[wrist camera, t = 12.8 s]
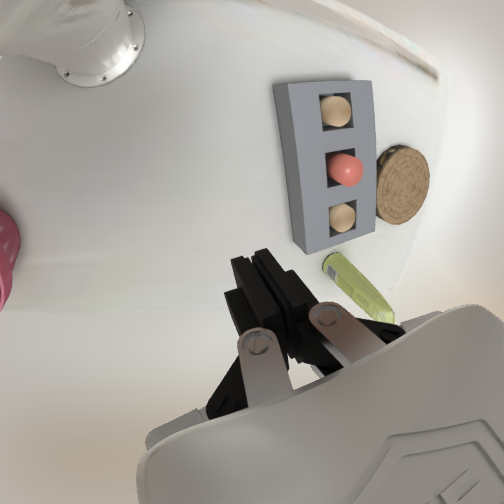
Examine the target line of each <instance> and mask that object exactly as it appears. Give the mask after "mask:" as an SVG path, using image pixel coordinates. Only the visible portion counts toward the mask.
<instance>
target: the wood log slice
mask: <svg viewBox="0 0 504 504" xmlns="http://www.w3.org/2000/svg"><path fill="white" fill-rule="evenodd" d="M376 171H377V178H376V216H378V217H379V218H381V219H382V220H384V221H386V222H388V223H390V224H391V225H400V224H402V223H405V222H407V221H409V220H410V219H411V218H412V217H413V216H415V214H416V213H417V212H418V211H419V209H420V208H421V206H422V204H423V202H424V200H425V198H426V195H427V192H428V188H429V177H430V174H429V168H428V164H427V162H426V159H425V157H424V156H423V155H422V154H421V153H420V152H419V151H418V150H415V149H412V148H409V147H406V146H402V145H397V146H392V147H390V148H389V149H387V150H386V151H384V152H383V153H382V154H381V155H380V157H379V158H378V159H377V160H376Z"/></svg>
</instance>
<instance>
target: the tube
mask: <svg viewBox="0 0 504 504" xmlns="http://www.w3.org/2000/svg"><path fill="white" fill-rule="evenodd" d="M323 270H324V272H325V273H326V274H327V275H328V277H329V278H330V279H331V280H332V281H333V282H334V283H335V284H336V285H337V286H339V287H340V288H341V289H342V290H343V291H344V292H345V293H346V294H347V295H348V296H349V297H350V298H351V299H352V300H353V301H354V302H355V303H356V304H357V305H359V307H360V308H362V309H363V310H364V311H365V312H366V313H367V314H368V315H369V316H370V317H371V318H373V319H374V320H375V321H379V322H385V323H391V324H395V325H396V316H395V313H394V312H393V310H392V308H391V306H390V305H389V304H388V303H387V301H386V300H385V299H384V298H383V296H382V295H381V294H380V293H379V292H378V290H377V289H376V288H375V287H374V286H373V285H372V284H371V283H370V282H369V281H368V280H367V278H366V277H365V276H364V275H363V274H362V273H361V272H360V271H359V270H358V269H357V268H356V267H355V266H354V265H353V264H351V263H350V262H349V261H348V260H347V259H346V258H345V257H344V256H343V255H342V254H340V253H334V254H331V255H330V256H329V257H328V258H327V259H326V260H325V262H324V264H323Z"/></svg>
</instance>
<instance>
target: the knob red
mask: <svg viewBox="0 0 504 504" xmlns="http://www.w3.org/2000/svg"><path fill="white" fill-rule="evenodd" d="M325 161H326V174H327V177H329V178H331V179H333V180H335V181H337V182H339V183H341V184H343V185H345V186H347V187H352V186H354V185H356V184H357V183H358V182H359V181H360V180H361V178H362V175H363V165H362V162H361V161H360V160H359V159H358V158H356V157H353V156H350V155H348V154H345V153H342V152H339V151H333V152H330V153H328V154H327V155H326V156H325Z"/></svg>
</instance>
